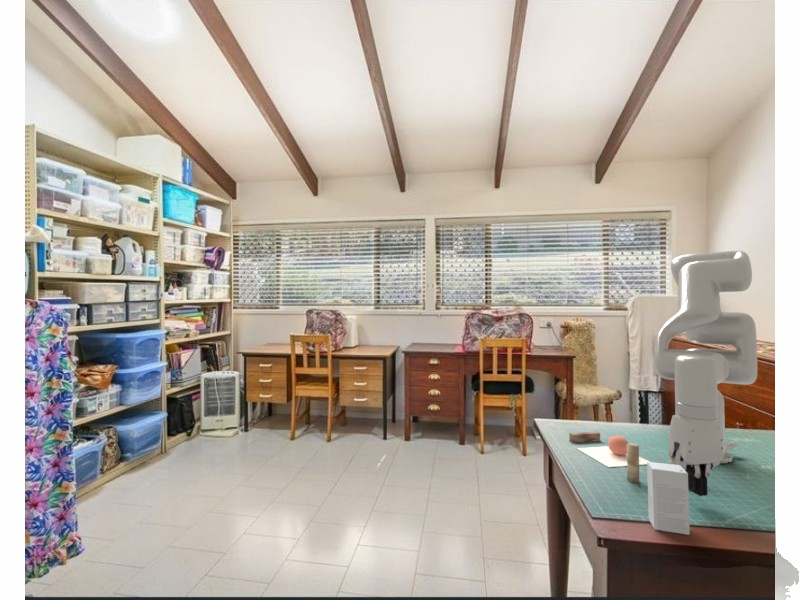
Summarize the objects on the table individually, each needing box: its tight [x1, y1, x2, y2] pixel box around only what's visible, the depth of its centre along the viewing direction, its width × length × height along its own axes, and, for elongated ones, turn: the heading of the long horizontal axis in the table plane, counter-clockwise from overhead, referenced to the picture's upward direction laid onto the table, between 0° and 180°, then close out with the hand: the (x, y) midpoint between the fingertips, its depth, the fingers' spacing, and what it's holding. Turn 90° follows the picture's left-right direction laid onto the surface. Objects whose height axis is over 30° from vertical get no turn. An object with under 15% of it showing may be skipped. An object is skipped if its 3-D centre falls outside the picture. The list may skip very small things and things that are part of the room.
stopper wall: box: [569, 431, 601, 443], centre depth 125 cm, size 10×2×2 cm, turn 99°
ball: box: [607, 435, 629, 455], centre depth 113 cm, size 6×6×6 cm
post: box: [626, 442, 640, 484], centre depth 96 cm, size 3×3×9 cm
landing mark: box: [576, 445, 650, 469], centre depth 112 cm, size 14×14×1 cm
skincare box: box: [646, 461, 691, 536], centre depth 76 cm, size 6×4×12 cm
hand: (697, 492), depth 84 cm, fingers closed
